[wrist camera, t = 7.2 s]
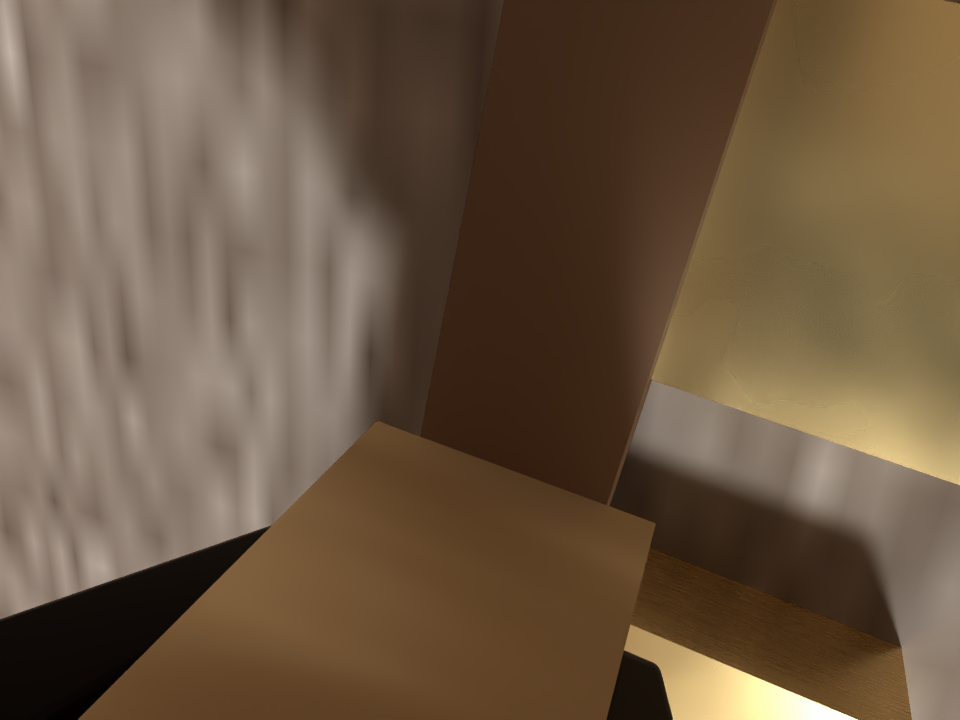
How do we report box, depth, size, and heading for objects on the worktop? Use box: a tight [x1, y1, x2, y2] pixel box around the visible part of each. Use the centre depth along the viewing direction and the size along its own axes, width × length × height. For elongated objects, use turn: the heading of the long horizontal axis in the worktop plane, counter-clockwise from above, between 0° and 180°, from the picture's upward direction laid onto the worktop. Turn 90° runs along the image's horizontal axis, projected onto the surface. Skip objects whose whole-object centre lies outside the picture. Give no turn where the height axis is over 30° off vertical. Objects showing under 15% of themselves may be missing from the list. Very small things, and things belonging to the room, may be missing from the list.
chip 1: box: [651, 0, 960, 485], centre depth 9 cm, size 4×4×2 cm
